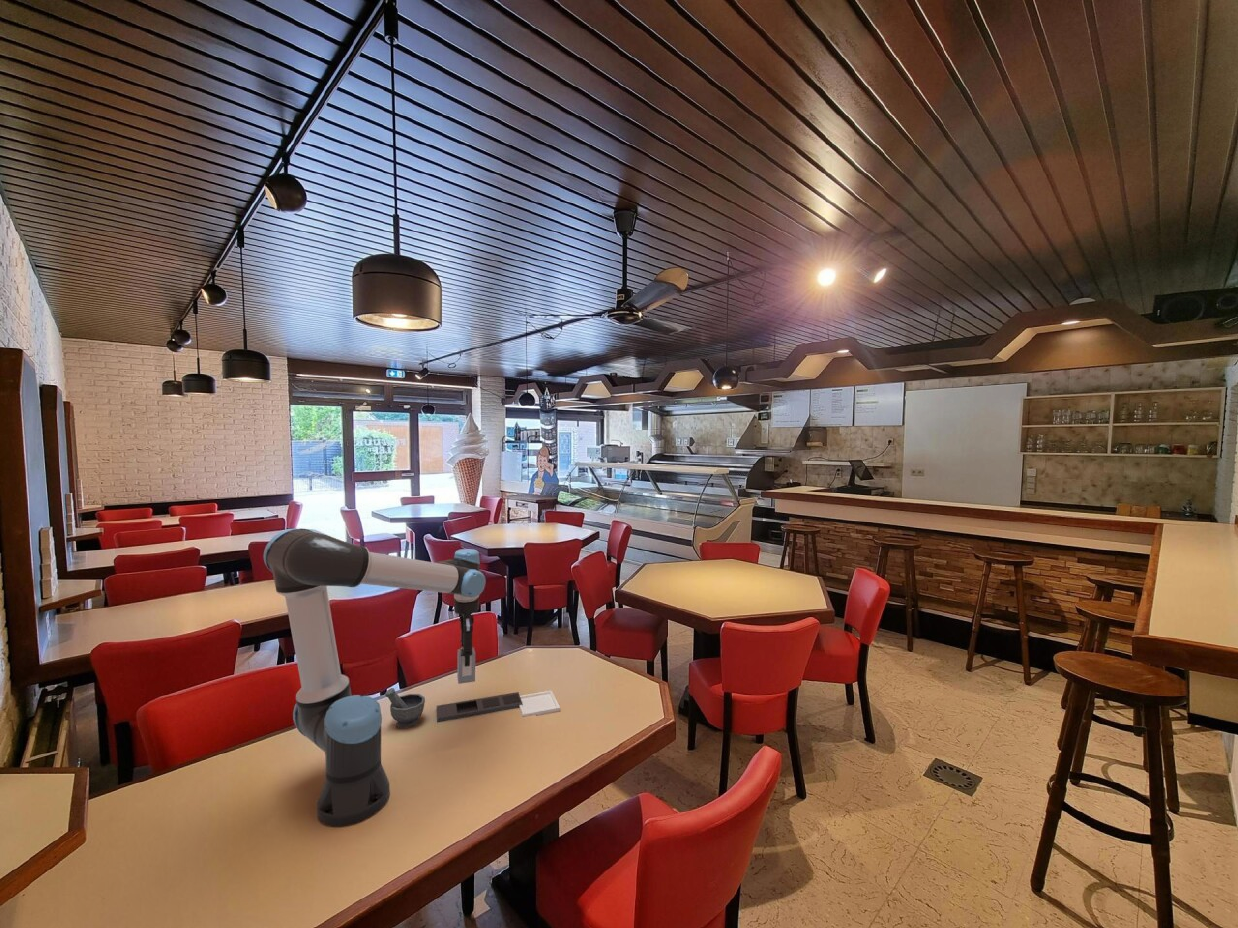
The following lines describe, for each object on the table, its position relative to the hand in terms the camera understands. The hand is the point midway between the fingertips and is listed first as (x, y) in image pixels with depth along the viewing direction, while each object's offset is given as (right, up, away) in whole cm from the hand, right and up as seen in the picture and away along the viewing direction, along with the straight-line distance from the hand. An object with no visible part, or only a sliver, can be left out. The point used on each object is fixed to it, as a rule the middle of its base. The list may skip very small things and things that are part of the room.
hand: (466, 671), depth 158 cm
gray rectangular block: (0, -3, 0) cm, 3 cm away
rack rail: (+4, -13, +2) cm, 14 cm away
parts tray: (+22, -13, +5) cm, 26 cm away
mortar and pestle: (-16, -13, -7) cm, 22 cm away
